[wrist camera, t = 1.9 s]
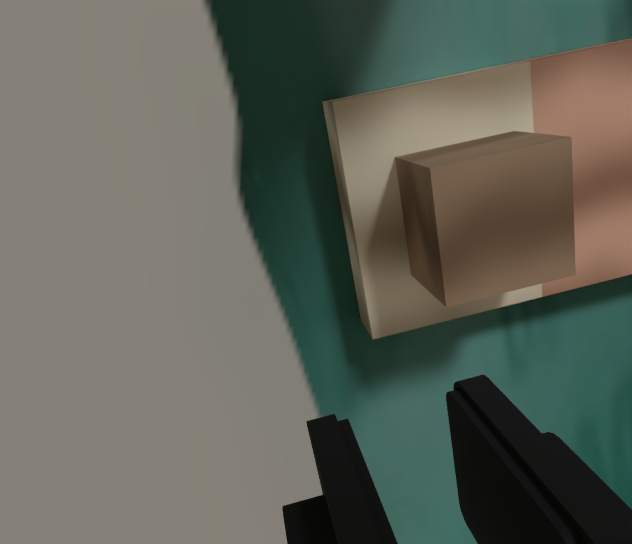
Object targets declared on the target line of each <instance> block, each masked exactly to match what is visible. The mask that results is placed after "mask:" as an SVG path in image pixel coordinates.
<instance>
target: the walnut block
mask: <svg viewBox="0 0 632 544" xmlns="http://www.w3.org/2000/svg"><path fill="white" fill-rule="evenodd" d="M395 162H396V169H397V176H398V183H399V190H400V198H401V205H402V212H403V219H404V227H405V234H406V241H407V248H408V255H409V263H410V270H411V275H412V276H413V277H414V278H415V279H416V280H417V281H418V282H419V283H420V284H421V285H422V286H424V287H425V288H426V289H427V290H428V291H429V292H430V293H431V294H432V295H433V296H434V297H436V298H437V299H438V300H439V301H440V302H441V303H442V304H443V305H444V306H445V307H450V306H454V305H458V304H462V303H466V302H470V301H474V300H478V299H482V298H486V297H490V296H494V295H498V294H502V293H506V292H510V291H514V290H518V289H522V288H526V287H530V286H534V285H538V284H542V283H546V282H550V281H554V280H558V279H562V278H566V277H570V276H574V275H576V269H575V235H574V201H573V168H572V137H568V136H558V135H548V134H539V133H529V132H519V131H512V132H507V133H503V134H498V135H493V136H489V137H484V138H480V139H475V140H471V141H466V142H461V143H457V144H452V145H448V146H443V147H438V148H434V149H429V150H425V151H420V152H416V153H411V154H406V155H402V156H397V157H395Z"/></svg>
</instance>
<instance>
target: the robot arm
mask: <svg viewBox="0 0 632 544" xmlns="http://www.w3.org/2000/svg"><path fill="white" fill-rule="evenodd" d="M446 401H447V409H448V417H449V425H450V433H451V441H452V449H453V457H454V465H455V473H456V481H457V489H458V497H459V504H460V508H461V512H462V515H463V517H464V520H465V522H466V524H467V526H468V527H469V529H470V531H471V533H472V534H473V536H474V538H475V540H476V541H477V543H478V544H632V510H631V509H630V508H629V507H628V506H627V505H626V504H625V503H624V502H623V501H622V500H621V499H620V498H619V497H618V496H617V495H616V494H615V493H614V492H613V491H612V490H611V489H610V488H609V487H608V486H607V485H606V484H605V483H604V482H603V481H602V480H601V479H600V478H599V477H598V476H597V475H596V474H595V473H594V472H593V471H592V470H591V469H590V468H589V467H588V466H587V465H586V464H585V463H584V462H583V461H582V460H581V459H580V458H579V457H578V456H577V455H576V454H575V453H574V452H573V451H572V450H571V449H570V448H569V447H568V446H567V445H566V444H565V443H564V442H563V441H562V440H561V439H560V438H559V437H558V436H556V435H555V434H553V433H550V432H547V433H543V434H542V433H541V432H540V431H539V430H538V429H537V428H536V427H535V426H534V425H533V424H532V423H531V422H530V421H529V420H528V419H527V418H526V417H525V416H524V415H523V414H522V413H521V412H520V411H519V410H518V408H517V407H516V406H515V405H514V404H513V403H512V402H511V401H510V400H509V399H508V398H507V397H506V396H505V395H504V394H503V393H502V392H501V391H500V390H499V389H498V388H497V387H496V386H495V385H494V384H493V383H492V381H491V380H490V379H489V378H488V377H486V376H485V375H480V376H476V377H472V378H469V379H465V380H461V381H457V382H455V383H454V391H450V392H447V394H446ZM307 427H308V431H309V435H310V440H311V444H312V448H313V452H314V457H315V461H316V466H317V470H318V474H319V479H320V483H321V488H322V492H323V495H321V496H317V497H314V498H310V499H307V500H303V501H299V502H296V503H292V504H289V505H286V506H283V516H284V523H285V530H286V537H287V543H288V544H398V543H397V541H396V538H395V536H394V533H393V531H392V528H391V526H390V523H389V521H388V518H387V516H386V513H385V511H384V508H383V506H382V503H381V501H380V498H379V496H378V493H377V491H376V488H375V486H374V483H373V481H372V478H371V476H370V473H369V471H368V468H367V465H366V463H365V460H364V458H363V455H362V453H361V450H360V448H359V445H358V443H357V440H356V438H355V435H354V433H353V430H352V428H351V425H350V423H349V420H348V419H345V420H341V421H337V419H336V416H335V414H332V415H329V416H325V417H321V418H317V419H314V420H310V421H307Z"/></svg>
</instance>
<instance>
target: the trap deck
mask: <svg viewBox="0 0 632 544" xmlns="http://www.w3.org/2000/svg"><path fill="white" fill-rule="evenodd" d="M322 103H323V109H324V114H325V120H326V126H327V131H328V137H329V143H330V148H331V154H332V159H333V165H334V171H335V176H336V182H337V188H338V193H339V199H340V205H341V210H342V216H343V222H344V227H345V233H346V239H347V244H348V250H349V256H350V261H351V267H352V273H353V278H354V284H355V290H356V295H357V301H358V306H359V312H360V318H361V322H362V323H363V325H364V326H365V328H366V330H367V331H368V333H369V334H370V336H371V337H372V339H377V338H381V337H385V336H389V335H393V334H397V333H401V332H405V331H409V330H413V329H417V328H421V327H425V326H429V325H433V324H437V323H441V322H445V321H449V320H453V319H457V318H461V317H465V316H469V315H473V314H477V313H480V312H484V311H488V310H492V309H496V308H500V307H504V306H508V305H512V304H516V303H520V302H524V301H528V300H532V299H536V298H540V297H544V296H548V295H552V294H556V293H560V292H564V291H568V290H572V289H576V288H580V287H584V286H588V285H592V284H596V283H600V282H603V281H607V280H611V279H615V278H619V277H623V276H627V275H631V274H632V38H630V39H626V40H621V41H616V42H611V43H606V44H601V45H596V46H591V47H587V48H582V49H577V50H572V51H567V52H562V53H557V54H552V55H547V56H543V57H538V58H533V59H528V60H523V61H518V62H513V63H508V64H504V65H499V66H494V67H489V68H484V69H479V70H474V71H469V72H464V73H460V74H455V75H450V76H445V77H440V78H435V79H430V80H425V81H421V82H416V83H411V84H406V85H401V86H396V87H391V88H386V89H381V90H377V91H372V92H367V93H362V94H357V95H352V96H347V97H342V98H338V99H333V100H328V101H323V102H322ZM512 131H519V132H529V133H539V134H548V135H558V136H568V137H572V168H573V201H574V235H575V269H576V275H574V276H570V277H566V278H562V279H558V280H554V281H550V282H546V283H542V284H538V285H534V286H530V287H526V288H522V289H518V290H514V291H510V292H506V293H502V294H498V295H494V296H490V297H486V298H482V299H478V300H474V301H470V302H466V303H462V304H458V305H454V306H450V307H445V306H444V305H443V304H442V303H441V302H440V301H439V300H438V299H437V298H436V297H434V296H433V295H432V294H431V293H430V292H429V291H428V290H427V289H426V288H425V287H424V286H422V285H421V284H420V283H419V282H418V281H417V280H416V279H415V278H414V277H413V276H412V275H411V270H410V263H409V255H408V248H407V241H406V234H405V227H404V219H403V212H402V205H401V198H400V190H399V183H398V176H397V169H396V162H395V157H397V156H402V155H406V154H411V153H416V152H420V151H425V150H429V149H434V148H438V147H443V146H448V145H452V144H457V143H461V142H466V141H471V140H475V139H480V138H484V137H489V136H493V135H498V134H503V133H507V132H512Z"/></svg>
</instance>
